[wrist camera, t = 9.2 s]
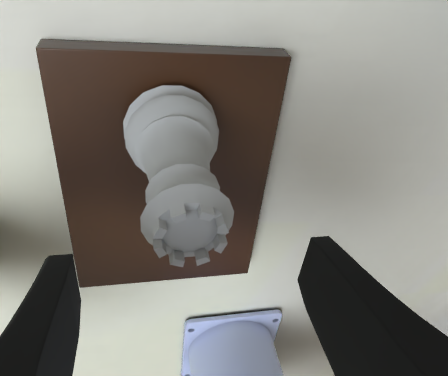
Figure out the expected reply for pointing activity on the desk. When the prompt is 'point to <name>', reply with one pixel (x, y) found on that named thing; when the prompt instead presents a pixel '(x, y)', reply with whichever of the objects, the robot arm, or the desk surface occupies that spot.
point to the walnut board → (124, 165)
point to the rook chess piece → (178, 173)
